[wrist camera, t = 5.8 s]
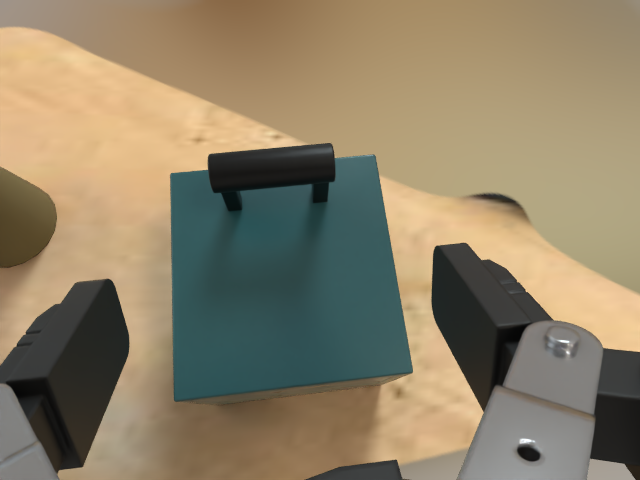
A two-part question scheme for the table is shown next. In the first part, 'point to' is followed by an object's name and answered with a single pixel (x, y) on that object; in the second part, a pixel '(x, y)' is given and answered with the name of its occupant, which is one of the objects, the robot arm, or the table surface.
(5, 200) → the olive pepper mill
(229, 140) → the table surface
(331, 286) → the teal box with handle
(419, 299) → the table surface
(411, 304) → the table surface
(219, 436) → the table surface
